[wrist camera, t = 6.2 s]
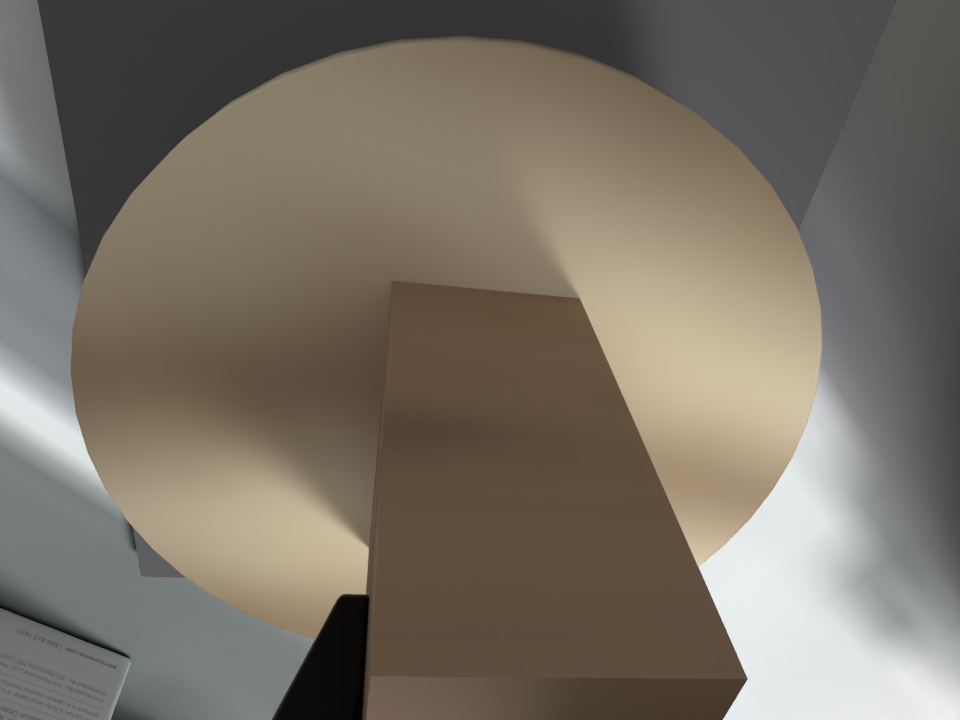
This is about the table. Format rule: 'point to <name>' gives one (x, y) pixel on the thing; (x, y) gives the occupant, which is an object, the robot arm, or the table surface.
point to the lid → (457, 373)
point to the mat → (438, 13)
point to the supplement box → (55, 674)
